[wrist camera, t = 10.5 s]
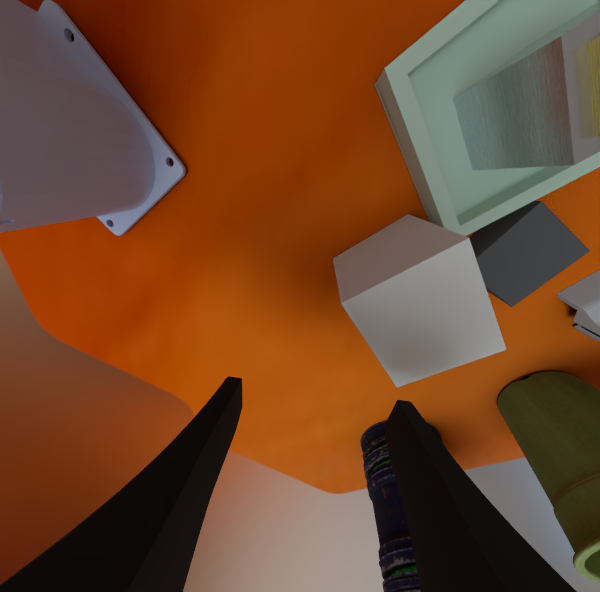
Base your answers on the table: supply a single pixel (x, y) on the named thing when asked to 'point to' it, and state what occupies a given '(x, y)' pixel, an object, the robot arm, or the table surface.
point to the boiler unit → (418, 299)
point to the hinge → (585, 304)
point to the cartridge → (538, 102)
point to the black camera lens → (389, 513)
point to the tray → (443, 117)
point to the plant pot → (562, 453)
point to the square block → (524, 251)
